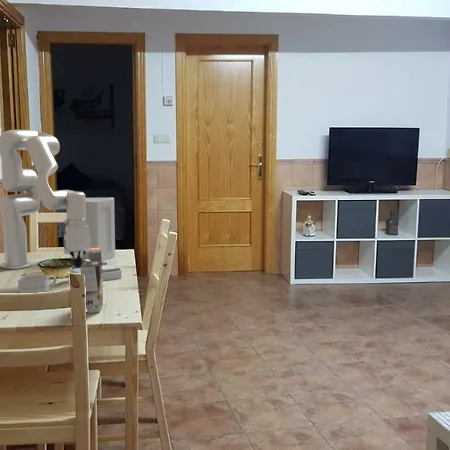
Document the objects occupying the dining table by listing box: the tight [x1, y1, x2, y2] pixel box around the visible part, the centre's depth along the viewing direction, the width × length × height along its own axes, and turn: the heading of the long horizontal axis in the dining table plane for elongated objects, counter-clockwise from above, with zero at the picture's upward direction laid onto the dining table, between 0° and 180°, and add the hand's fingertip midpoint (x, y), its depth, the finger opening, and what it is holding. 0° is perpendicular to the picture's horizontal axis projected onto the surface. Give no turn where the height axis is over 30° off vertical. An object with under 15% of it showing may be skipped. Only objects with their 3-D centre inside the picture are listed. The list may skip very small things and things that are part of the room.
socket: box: [71, 261, 122, 281], centre depth 261 cm, size 16×16×4 cm
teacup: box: [17, 274, 57, 294], centre depth 229 cm, size 14×11×8 cm
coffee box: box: [80, 261, 104, 314], centre depth 215 cm, size 9×6×16 cm
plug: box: [89, 248, 102, 261], centre depth 273 cm, size 4×4×9 cm
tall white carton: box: [76, 197, 116, 262], centre depth 292 cm, size 19×15×28 cm
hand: (77, 267), depth 256 cm, fingers closed
